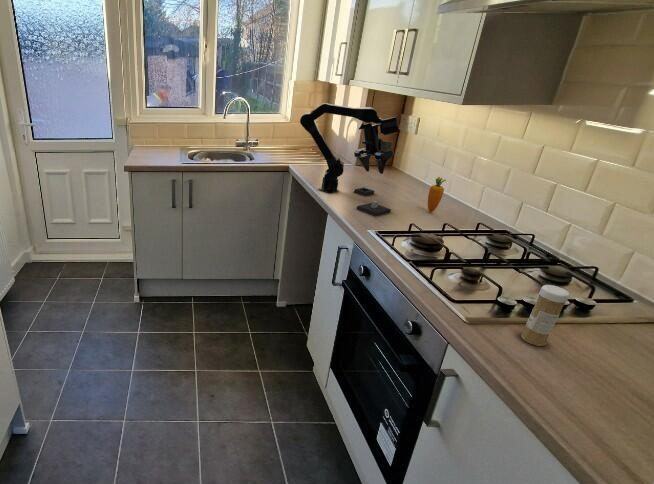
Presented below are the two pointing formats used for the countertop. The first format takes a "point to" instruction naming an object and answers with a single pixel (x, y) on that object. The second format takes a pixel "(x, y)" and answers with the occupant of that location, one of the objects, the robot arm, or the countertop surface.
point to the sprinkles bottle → (544, 314)
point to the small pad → (364, 191)
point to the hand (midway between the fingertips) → (374, 172)
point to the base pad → (373, 208)
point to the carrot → (435, 195)
